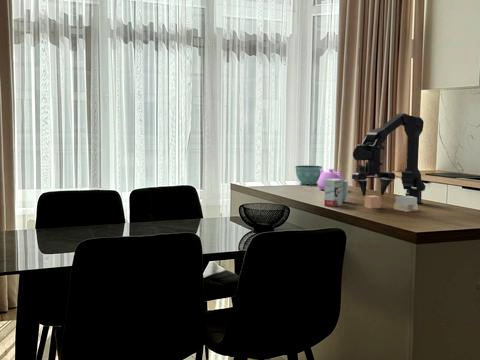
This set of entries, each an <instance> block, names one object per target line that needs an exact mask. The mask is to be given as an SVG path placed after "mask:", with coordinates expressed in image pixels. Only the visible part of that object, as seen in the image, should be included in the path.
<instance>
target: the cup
mask: <svg viewBox="0 0 480 360" xmlns="http://www.w3.org/2000/svg"><path fill="white" fill-rule="evenodd" d="M348 189H349V182H348V180H345V179H343V186H342V203H344V202H346V200H347V198H348V192H349V191H348Z"/></svg>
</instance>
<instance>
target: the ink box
mask: <svg viewBox="0 0 480 360" xmlns="http://www.w3.org/2000/svg"><path fill="white" fill-rule="evenodd" d="M343 180H344V178H343V179H334V178H333V179H325V190H324V204H323V205H324V206H325V207H331V206H332V207H333V208H335V207H338V206H342V205H343V202H342V186H343ZM334 206H335V207H334Z"/></svg>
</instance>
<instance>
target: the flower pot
mask: <svg viewBox="0 0 480 360" xmlns="http://www.w3.org/2000/svg"><path fill="white" fill-rule="evenodd" d="M294 168H295V173H296V177H297V179H298V181H299V182H300V185H305V184H309V186H311V185H316V184H318V180H319V177H320V174H321V172H320V169H322V170H323V166H322V165H296V166H295V167H294Z"/></svg>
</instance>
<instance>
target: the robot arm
mask: <svg viewBox="0 0 480 360" xmlns="http://www.w3.org/2000/svg"><path fill="white" fill-rule="evenodd" d="M424 124H425V122H424V120H423V119H422V118H421V117H420V116H417V117H416V116H413V115H410V114H408V113H396V114H395V116H393V117H392V118H390V119H389V120H388V121H387V122H385V123H384V124H383V125H381V126H380V127H377V128H374V129H371V130H369V131H368V132H367V133H366V136H365V137H364V139H363V141H362V142H361V144H357V145H356V147H355V148H354V149H353V152H352V156H353V159H354V160H355V161H365V164H364V165H363V164H358V165H356V172H353V173H352V174H351V175H352V176H351V179H352V180H354V181H355V182H357V183H358V185H359V188H360V190H361V193H362V196H363V197H365V196H366V194H367V187H368V185H367V184H368V180H367V179H379V181H380V183H381V184H380V195H381V196H384V195H385V192H386V190H387V189H388V188H389V185H390V184H391V183H392V182H393V180H396V173H394V172H391V171H381V169H382V166H383V165H384V163H383V162H382V150H385V149H386V147H384V145H383V143H384V142H385V141H386V140H387V139H388V136H389V135H390V134H391V133H392V132H394V131H395V130H396V129H398V128H399V127H401V126H402V127H403V129H404V133H405V135H406V136H407V138H406V139H407V141H406V145H407V146H406V165H405V166H406V167H405V169H404V170H403V171H401V176H400V177H401V178H400V181H401V184H402V187H403V190H406V191H405V196H412V197H416V198H417V204H418V205H420V204H421V205H422V204H424V202H422V193H423V192H424V191H425V190H426V187H427V186H426V185H425V183H424V182H423V180H422V174H421V171H420V169H419V146H420V145H419V144H420V142H419V140H420V136H421V134H422V133H423V130H424Z"/></svg>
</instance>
